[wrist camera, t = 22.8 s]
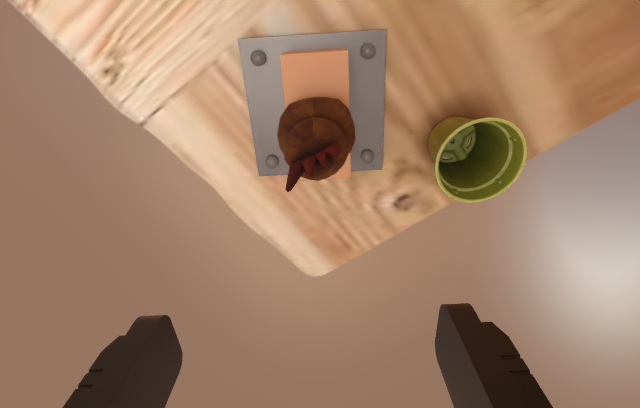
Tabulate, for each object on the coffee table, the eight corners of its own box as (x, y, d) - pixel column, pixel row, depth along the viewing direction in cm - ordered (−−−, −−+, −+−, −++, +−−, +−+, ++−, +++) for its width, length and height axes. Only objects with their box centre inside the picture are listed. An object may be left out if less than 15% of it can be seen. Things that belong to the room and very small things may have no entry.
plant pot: (421, 99, 40) (446, 115, 32) (498, 103, 40) (541, 120, 32) (408, 171, 44) (427, 200, 36) (477, 175, 44) (510, 204, 36)
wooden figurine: (288, 151, 35) (268, 222, 22) (279, 95, 32) (251, 137, 19) (351, 145, 35) (371, 214, 21) (348, 88, 32) (368, 125, 19)
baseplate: (384, 29, 36) (387, 29, 34) (380, 165, 44) (383, 171, 42) (240, 38, 37) (236, 38, 35) (260, 171, 44) (258, 178, 42)
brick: (344, 48, 36) (348, 50, 30) (346, 159, 42) (350, 177, 36) (285, 52, 36) (279, 54, 31) (296, 162, 42) (293, 180, 36)
